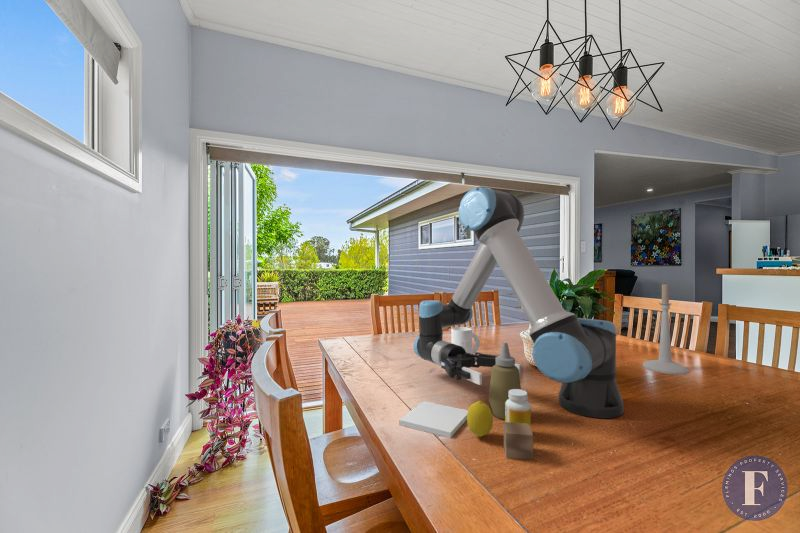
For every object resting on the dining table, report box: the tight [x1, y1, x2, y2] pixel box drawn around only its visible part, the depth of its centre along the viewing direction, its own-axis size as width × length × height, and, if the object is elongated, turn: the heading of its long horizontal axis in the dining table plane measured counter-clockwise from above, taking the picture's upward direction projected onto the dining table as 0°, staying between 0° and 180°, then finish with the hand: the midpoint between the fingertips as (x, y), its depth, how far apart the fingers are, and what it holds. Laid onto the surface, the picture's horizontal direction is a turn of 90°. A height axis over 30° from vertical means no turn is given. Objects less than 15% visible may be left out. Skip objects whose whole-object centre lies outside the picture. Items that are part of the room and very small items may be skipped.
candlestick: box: [642, 282, 689, 375], centre depth 128 cm, size 13×13×30 cm
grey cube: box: [503, 421, 534, 461], centre depth 74 cm, size 5×5×5 cm
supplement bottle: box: [504, 389, 532, 430], centre depth 81 cm, size 5×5×10 cm
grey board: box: [398, 400, 469, 439], centre depth 89 cm, size 13×13×1 cm
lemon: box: [466, 400, 494, 438], centre depth 80 cm, size 6×6×8 cm
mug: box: [450, 326, 481, 354], centre depth 142 cm, size 8×12×12 cm
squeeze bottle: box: [488, 342, 522, 420], centre depth 91 cm, size 8×8×18 cm
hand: (501, 374), depth 92 cm, fingers open, 13 cm apart
